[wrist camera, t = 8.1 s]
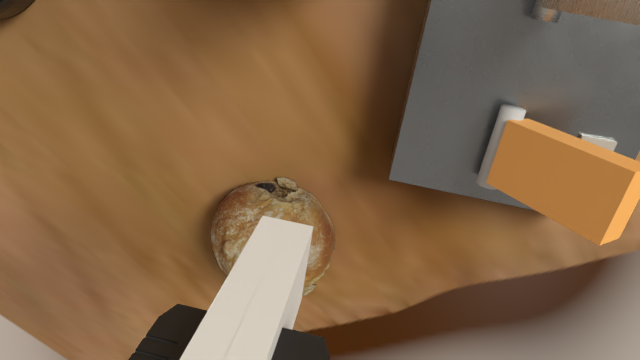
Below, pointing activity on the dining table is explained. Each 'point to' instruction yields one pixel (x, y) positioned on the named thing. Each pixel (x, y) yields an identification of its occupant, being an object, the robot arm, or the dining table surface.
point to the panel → (516, 83)
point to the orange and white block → (561, 176)
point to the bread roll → (277, 202)
